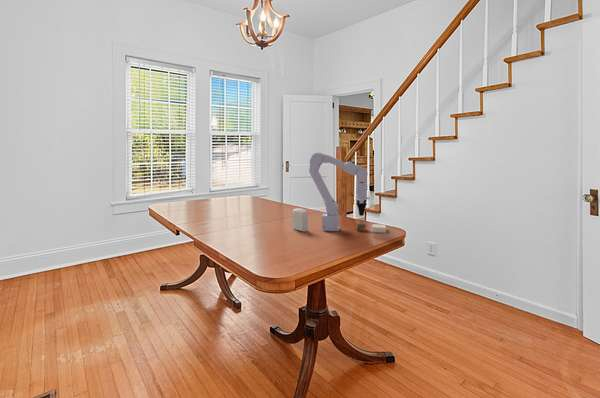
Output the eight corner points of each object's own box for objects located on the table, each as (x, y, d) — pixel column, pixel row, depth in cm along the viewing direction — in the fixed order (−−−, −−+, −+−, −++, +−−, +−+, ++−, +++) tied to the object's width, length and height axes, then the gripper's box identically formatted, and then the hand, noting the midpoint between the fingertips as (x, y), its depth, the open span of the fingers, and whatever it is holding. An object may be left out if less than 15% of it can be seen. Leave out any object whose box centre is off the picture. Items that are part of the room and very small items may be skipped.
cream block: (372, 232, 176) (372, 227, 176) (372, 229, 183) (372, 224, 183) (385, 233, 175) (385, 227, 175) (384, 229, 182) (385, 224, 181)
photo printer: (291, 229, 187) (291, 207, 185) (297, 227, 189) (297, 206, 187) (303, 232, 179) (302, 210, 177) (309, 231, 182) (308, 209, 180)
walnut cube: (357, 231, 179) (357, 224, 178) (357, 229, 183) (357, 222, 183) (365, 231, 178) (365, 224, 178) (365, 229, 183) (365, 222, 182)
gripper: (369, 191, 169) (369, 217, 172) (368, 188, 184) (368, 211, 186) (355, 191, 171) (355, 216, 173) (356, 188, 185) (356, 211, 187)
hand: (361, 214), depth 179 cm, fingers open, 7 cm apart
